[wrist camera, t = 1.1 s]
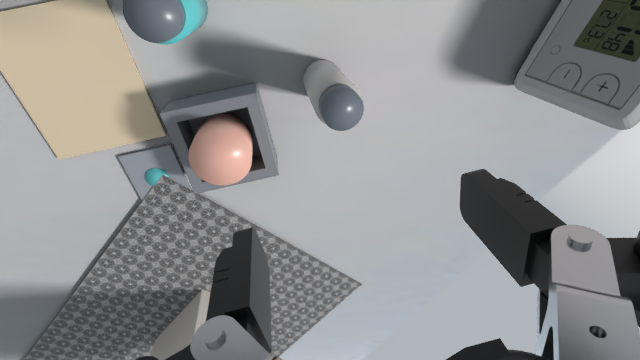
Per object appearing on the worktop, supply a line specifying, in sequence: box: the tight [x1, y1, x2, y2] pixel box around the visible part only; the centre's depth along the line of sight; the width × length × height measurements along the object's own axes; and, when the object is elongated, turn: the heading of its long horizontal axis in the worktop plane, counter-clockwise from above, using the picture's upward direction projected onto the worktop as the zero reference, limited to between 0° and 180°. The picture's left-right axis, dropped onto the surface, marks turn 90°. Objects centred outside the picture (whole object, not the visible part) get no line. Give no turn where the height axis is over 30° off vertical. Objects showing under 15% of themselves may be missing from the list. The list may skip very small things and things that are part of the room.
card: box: [118, 144, 191, 201], centre depth 33 cm, size 6×5×1 cm
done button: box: [188, 114, 253, 185], centre depth 29 cm, size 5×5×4 cm
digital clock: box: [514, 0, 640, 130], centre depth 27 cm, size 16×9×11 cm, turn 148°
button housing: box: [160, 83, 279, 194], centre depth 31 cm, size 8×8×4 cm
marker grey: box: [303, 60, 364, 131], centre depth 27 cm, size 4×4×9 cm
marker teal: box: [123, 0, 208, 44], centre depth 23 cm, size 4×4×9 cm
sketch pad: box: [0, 0, 167, 159], centre depth 28 cm, size 12×10×1 cm
